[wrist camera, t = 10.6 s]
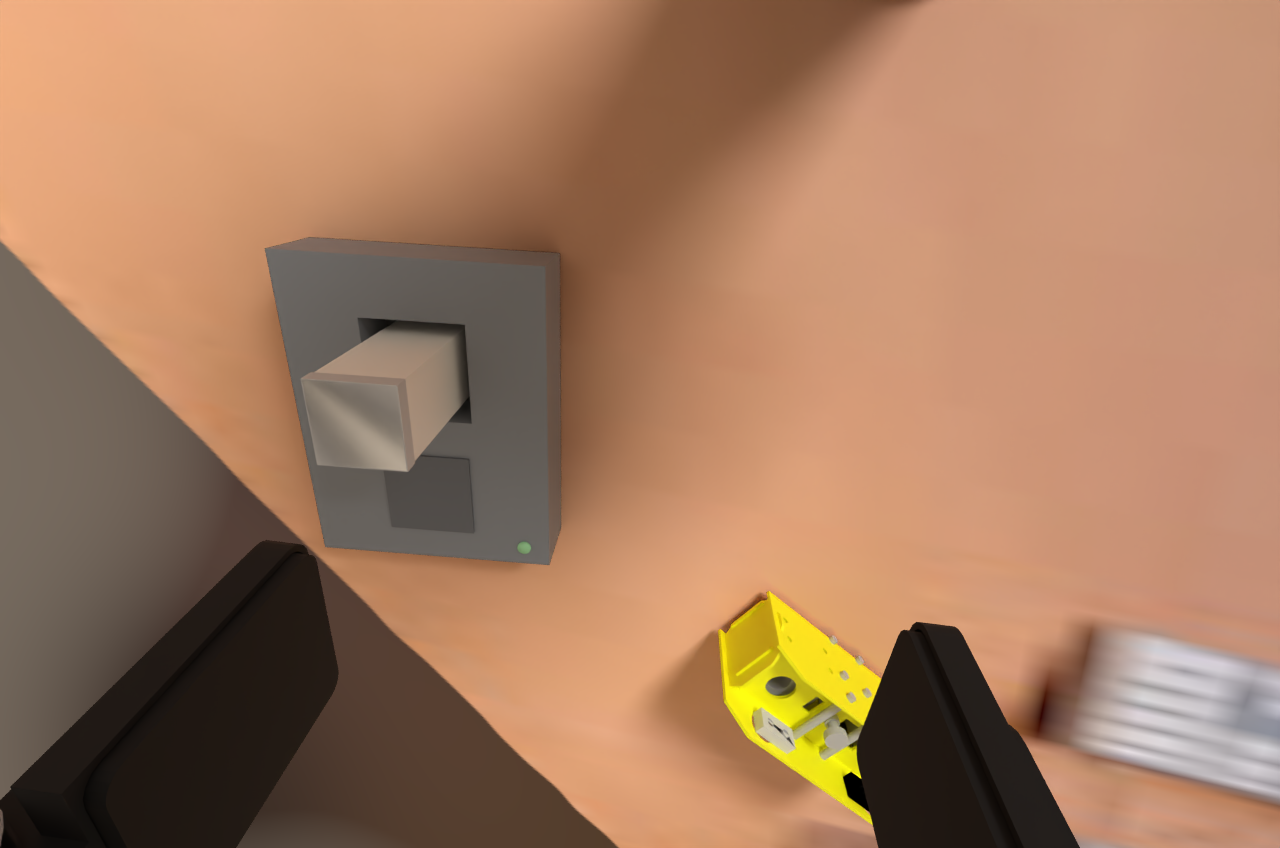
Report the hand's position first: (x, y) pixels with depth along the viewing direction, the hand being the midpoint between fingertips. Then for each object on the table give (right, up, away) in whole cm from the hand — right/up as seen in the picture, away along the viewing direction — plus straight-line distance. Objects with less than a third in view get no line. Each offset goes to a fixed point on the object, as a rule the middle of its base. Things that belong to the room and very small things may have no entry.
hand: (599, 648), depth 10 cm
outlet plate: (-11, +5, +27) cm, 30 cm away
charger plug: (-11, +8, +25) cm, 29 cm away
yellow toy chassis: (+14, -14, +35) cm, 40 cm away
